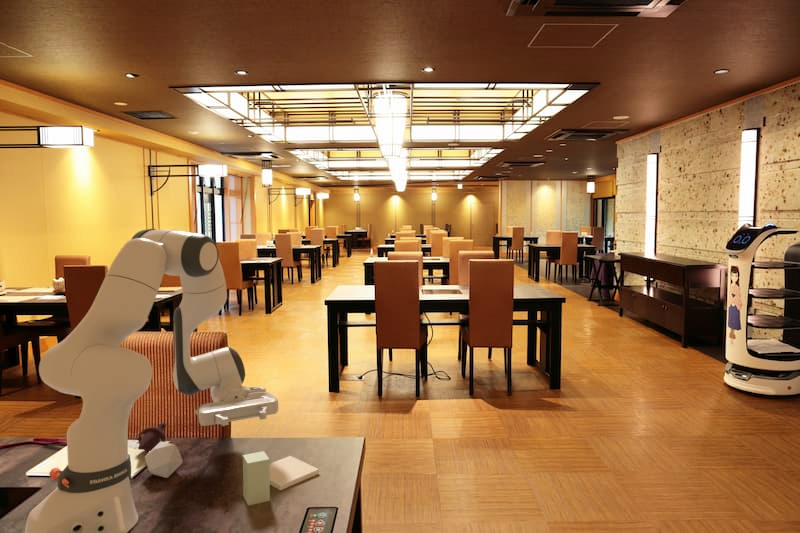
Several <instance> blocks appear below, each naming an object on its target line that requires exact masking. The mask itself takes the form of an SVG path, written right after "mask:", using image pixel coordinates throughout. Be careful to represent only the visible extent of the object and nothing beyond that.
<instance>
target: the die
mask: <svg viewBox="0 0 800 533" xmlns="http://www.w3.org/2000/svg"><path fill="white" fill-rule="evenodd" d="M181 455H182V454H181V453H180V450H179V449H178V446H177V445H176V444H175V443H170V442H167V441H165V442H162V441H160V442H159V443H158V444H157V445H156V446H155V447H154V448H153V449H152V450H151V451H150V452H147V454H146V455H145V456H144V460H145V462H146V466H147V469H148V471H149V472H150V474H151V475H153V476H157V477H159V478H160V477H161V478H164V479H165V478H166V479H168V478H169V477H170V476H171V475H172V474H173V473H174V472H175V471H176V470H177V469H178V468H179V467H180V466H181V465H182V464H183V463H184V461H183V458H182V456H181Z"/></svg>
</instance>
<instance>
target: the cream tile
mask: <svg viewBox="0 0 800 533" xmlns="http://www.w3.org/2000/svg"><path fill="white" fill-rule="evenodd" d="M269 466H270V487H271V486H272V487H274V488H275V489H277V490H279V491H282V490H285V489H286V488H289V487H292V486H294V485H296V484H298V483H300V482H303V481H306V480H307V479H310V478H312V477H314V476H317V475H319V474H320V469H319V468H317V467H315V466H313V465H311V464H308V463H307V462H305V461H302V460H301V459H298V458H296V457H294V456H293V455H288V456H286V457H283V458H280V459H278V460H276V461H273V462H271V463H270V462H269Z"/></svg>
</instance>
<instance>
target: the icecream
mask: <svg viewBox="0 0 800 533" xmlns="http://www.w3.org/2000/svg"><path fill="white" fill-rule="evenodd" d="M166 427H167V423H165V422H162V423H159V425H157V427H156V426H151V427H147V428H144V429H143V430H142V431H141V432H139V433H138V438H137V442H138V444H139V445H138V447H137V448H138V450H144V451H145V452H146V451H147V453H149V452H148V451H151V450H152V449H153V448H154V447H155V446H156V445H157V444H158V443H159V442H160V441H162V442H166V433H165V432H164V430H165V429H166Z"/></svg>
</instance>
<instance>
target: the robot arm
mask: <svg viewBox="0 0 800 533" xmlns="http://www.w3.org/2000/svg"><path fill="white" fill-rule="evenodd" d="M164 275H167V276H173V277H174V276H175V277H179V278H180V285H181V290H182V299H181V301H180V303H179V306H178V307H176V308H175V309H174V312H173V317H172V337H173V340H172V341H173V343H172V344H173V368H172V369H173V370H172V379H173V381H172V382H173V384H174V387H175V389H176V390H177V392H179V393H180V394H184V395H187V396H193V395H195V394H198V393H200V392H202V391H204V390H207V389H210V394H211V395H210V396H211V399H212V402H208V403H204V404H201V405H200V406H199V407H198V408H196V409H195V410H194V413H195V415H197V416H198V417H199V418H198V421H199V425H200V426H202V427H207V426H212V425H221V426H222V427H226V426H230V425H229V424H230V422H236V421H237V422H238V421H241V420H247V419H253V418H254V419H255V418H259V419H260V421H261V420H266V419H267V416H270V415H276V414H277V413H279V400H278V398H276V396H275V395H273V394H272V393H271V392H267V389H266V388H265V387H264V386H263V387H260V386H259V387H251V386H249V387H248V386H245V385H244V386H243V385H242V384H243V383H244V381H245V378H246V368H245V365H244V361H243V359H242V358H241V356H240V355H239V353H238V351H236V350H235V349H233V348H232V347H229V346H225V347H221V348H218V349H214V350H211V351H208V352H206V353H202V354H199V355H196V356H195V355H194V356H191V336H192V334H193V332H194V331H195V330H196V329H197V328H198V327H199V326H201V325H202V324H203V323H204V322H206V321H208V320H209V319H211V318H213V317H214V316H216V315H217V314H218V313H219V312H220V311H221V310H222V309H223V307H225V304H226V303H227V300H228V291H227V282H226V278H225V273H224V269H223V266H222V263H221V260H220V258H219V249H218V247H217V244H216V243H215V241H214V239H213V238H212V237H210V236H208V235H206V234H203V233H198V232H190V231H189V232H188V231H182V230H178V229H167V228H166V229H165V228H164V229H163V228H162V229H156V228H147V229H142V230H140V231H138V232H136V233H135V234H134V235H133V236H132V238H131V239H130V240H127V241H126V242H125V243H124V245H123V246H122V248H120V250H119V252H117V254H116V256H115V258H114V260H113V261H112V263H111V264H110V267H109V268H108V271H107V273H106V275H105V277H104V279H103V281H102V283H101V285H100V288H99V290H98V292H97V294H96V296H95V298H94V300H93V303H92V304H91V306H90V308H89V310H88V311H87V313H86V314H85V316H84V317H83V318H82V319H81V321H80V322H79V323H78V324H77V326H76V327H74V329H73V330H72V331H71V332H70V333H69V334H68V335H67V336H66V337H65V338H64V339H63V340H61V341H60V342H59V343H56V344H54V345H52V346H51V347H50V348H49V349H47V350H46V351H45V352H44V354H43V356H42V357H41V359H40V361H39V365H38V372H39V378H40V379H41V381H42V382H43V383H44V384H45V385H47V386H48V387H50V388H51V389H53V390H55V391H58V392H59V393H62V394H66V395H72V396H77V397H81V400H82V408H81V412H80V415H79V418H77V419H75V421H72V423H71V424H70V425H69V427H68V428H67V432H66V447H67V449H66V450H67V465H66V467H65V468H64V469H63V470H61V468H58V467H54V468H51V470H50V471H49V474H48V475H49V477H50V478H51V479H52V480H53V481H57V486H56V487H55V489H54V490H52V491H51V492H50V493H49V494H48V495H47V496H46V497H45V498H44V499H43V500H41V502H39V503H38V504H37V505H36V506H35V507H33V509H31V511H30V512H29V514H28V516H27V519H26V521H25V522H26V523H25V530H24V532H23V533H128V532H129V531H130V530H131V529H132V528H134V527H135V526H136V524H137V523H138V522H139V513H138V511H137V508H136V507H135V506H136V505H135V503H134V500H133V499H134V498H133V494H132V493H133V492H132V489H131V488H132V487H131V482H130V481H131V479H132V462H131V455H130V454H129V452H128V451H129V445H128V444H129V442H128V441H129V440H128V439H129V438H128V437H129V436H128V435H129V434H128V431H129V430H128V429H129V428H128V427H129V420H130V419H129V418H130V415H131V412H132V409H133V406H134V404H135V403H136V401H137V400H138V399H139V398H141V397H142V396H143V395H144V394H145V393H146V392H147V390H148V388H149V387H150V385H151V382H152V379H153V367H152V366H153V365H152V363H151V362H150V360H149V359H148V357H147V356H145V355H144V354H142V353H139V352H138V351H136V350H133V349H130V348H127V347H122V346H121V345H122V344H123V343H124V341H125V340H126V339H128V337H130V336H131V335H133V334H135V333H137V332H138V331H139V330H141V329H142V328H143V327H144V326H145V324H146V323H147V319H148V318H149V316H150V314H151V313H150V312H151V311H152V308H153V305H154V303H155V300H156V298H157V295H158V293H159V289H160V287H161V285H162V281H163V278H164Z"/></svg>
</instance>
